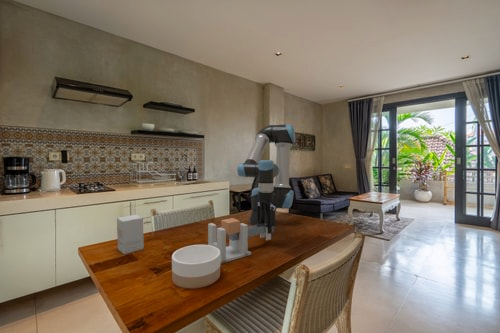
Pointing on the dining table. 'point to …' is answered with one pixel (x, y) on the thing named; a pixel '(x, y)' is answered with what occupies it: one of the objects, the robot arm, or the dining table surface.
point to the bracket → (235, 247)
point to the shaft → (252, 231)
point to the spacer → (231, 225)
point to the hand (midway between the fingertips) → (265, 238)
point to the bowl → (195, 266)
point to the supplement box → (130, 233)
